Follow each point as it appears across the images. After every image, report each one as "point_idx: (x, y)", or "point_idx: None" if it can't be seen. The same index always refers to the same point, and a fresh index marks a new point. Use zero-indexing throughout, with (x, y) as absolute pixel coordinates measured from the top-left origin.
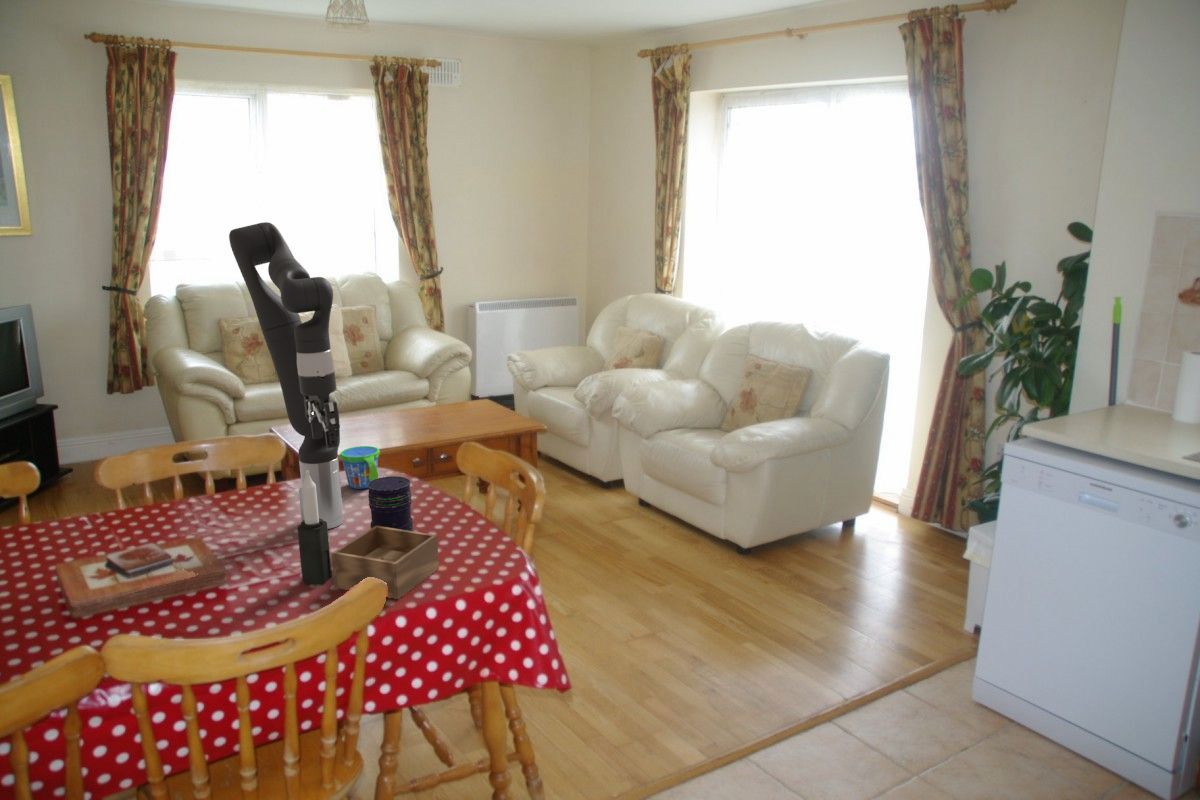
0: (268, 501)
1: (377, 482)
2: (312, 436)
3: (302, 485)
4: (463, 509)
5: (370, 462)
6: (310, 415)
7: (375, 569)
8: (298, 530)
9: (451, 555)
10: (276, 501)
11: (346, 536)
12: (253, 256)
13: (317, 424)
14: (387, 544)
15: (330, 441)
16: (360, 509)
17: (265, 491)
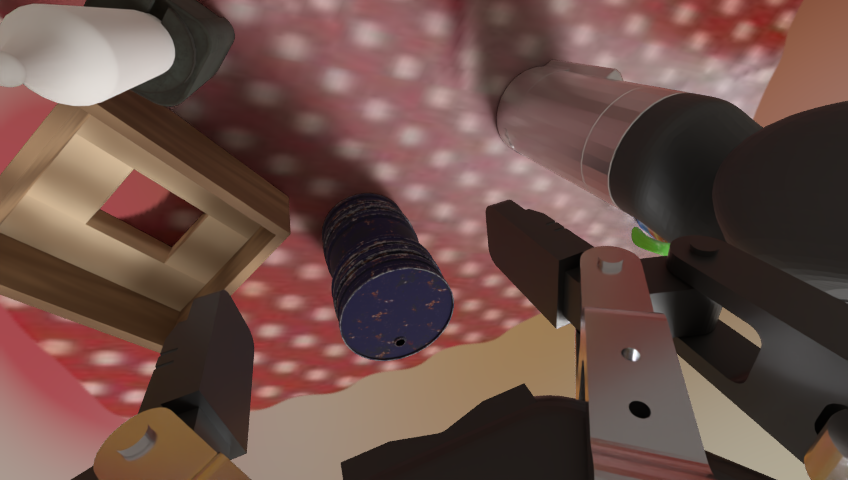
0: (720, 7)
1: (424, 290)
2: (513, 203)
3: (27, 11)
4: (456, 344)
5: (665, 248)
6: (584, 329)
7: None
8: None
9: (254, 323)
10: (707, 26)
11: (440, 147)
12: None
13: (547, 292)
14: (257, 235)
15: (164, 357)
16: (556, 190)
17: (770, 11)
